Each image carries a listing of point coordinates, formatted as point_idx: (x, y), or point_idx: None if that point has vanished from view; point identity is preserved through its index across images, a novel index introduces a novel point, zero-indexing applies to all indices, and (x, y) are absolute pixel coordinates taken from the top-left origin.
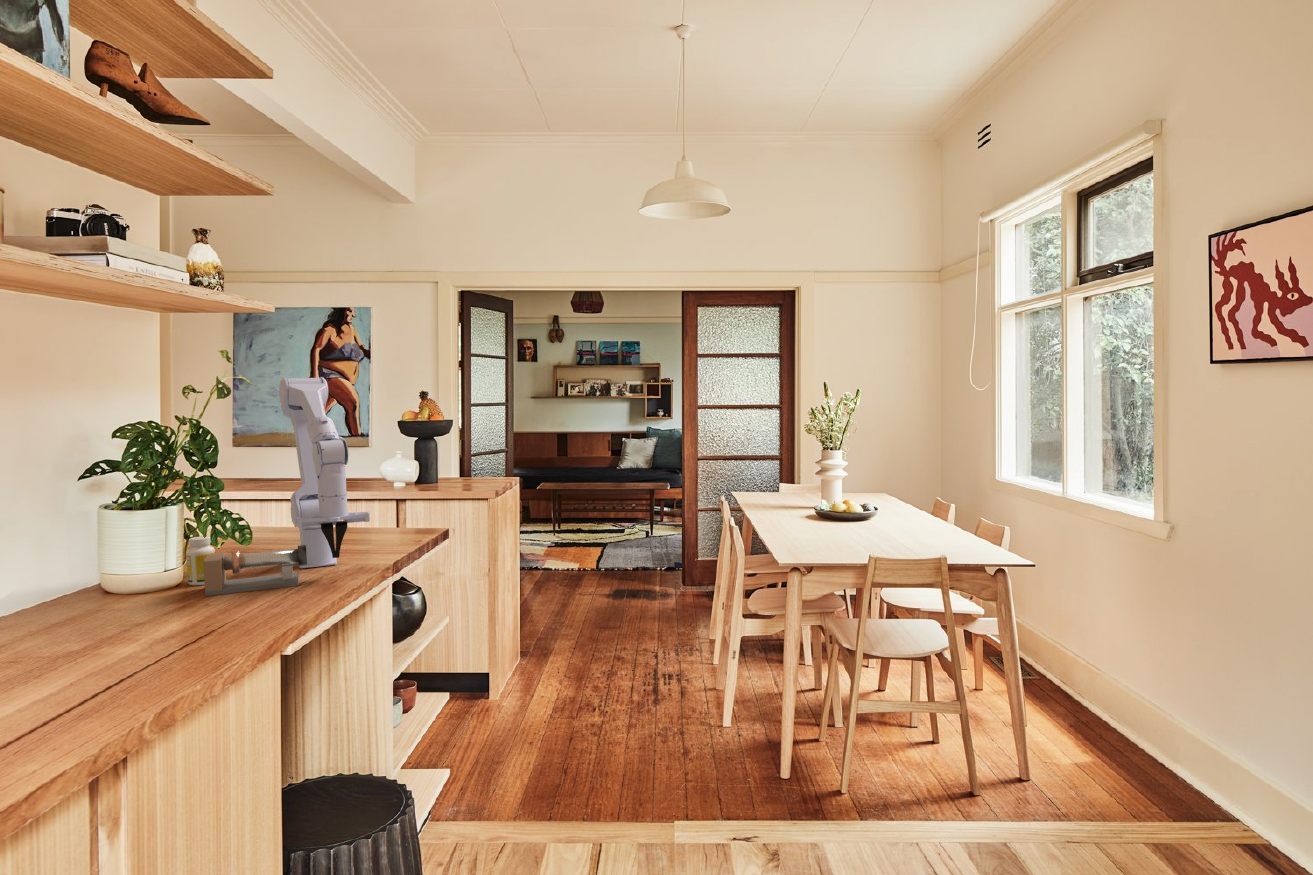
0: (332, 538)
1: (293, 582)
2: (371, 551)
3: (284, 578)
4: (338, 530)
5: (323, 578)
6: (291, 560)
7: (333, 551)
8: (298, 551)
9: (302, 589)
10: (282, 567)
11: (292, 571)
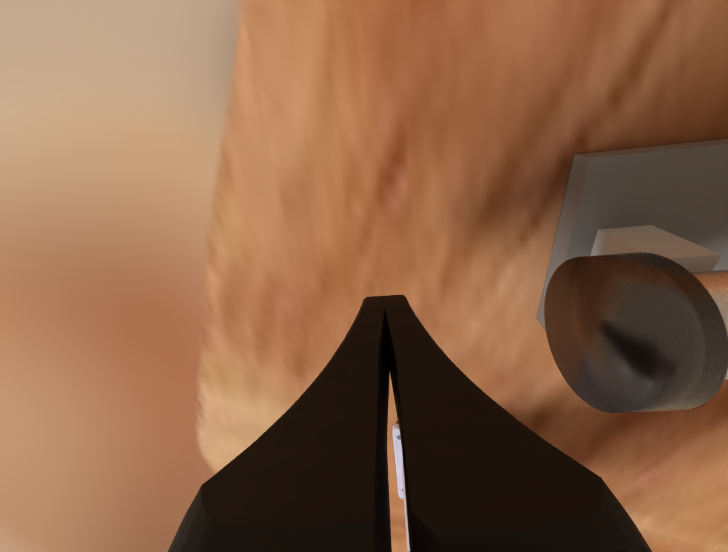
0: (415, 393)
1: (610, 154)
2: None
3: (645, 226)
4: (325, 479)
5: (441, 259)
6: (693, 272)
7: (400, 315)
8: (708, 303)
9: (572, 33)
10: (712, 254)
11: (624, 247)
